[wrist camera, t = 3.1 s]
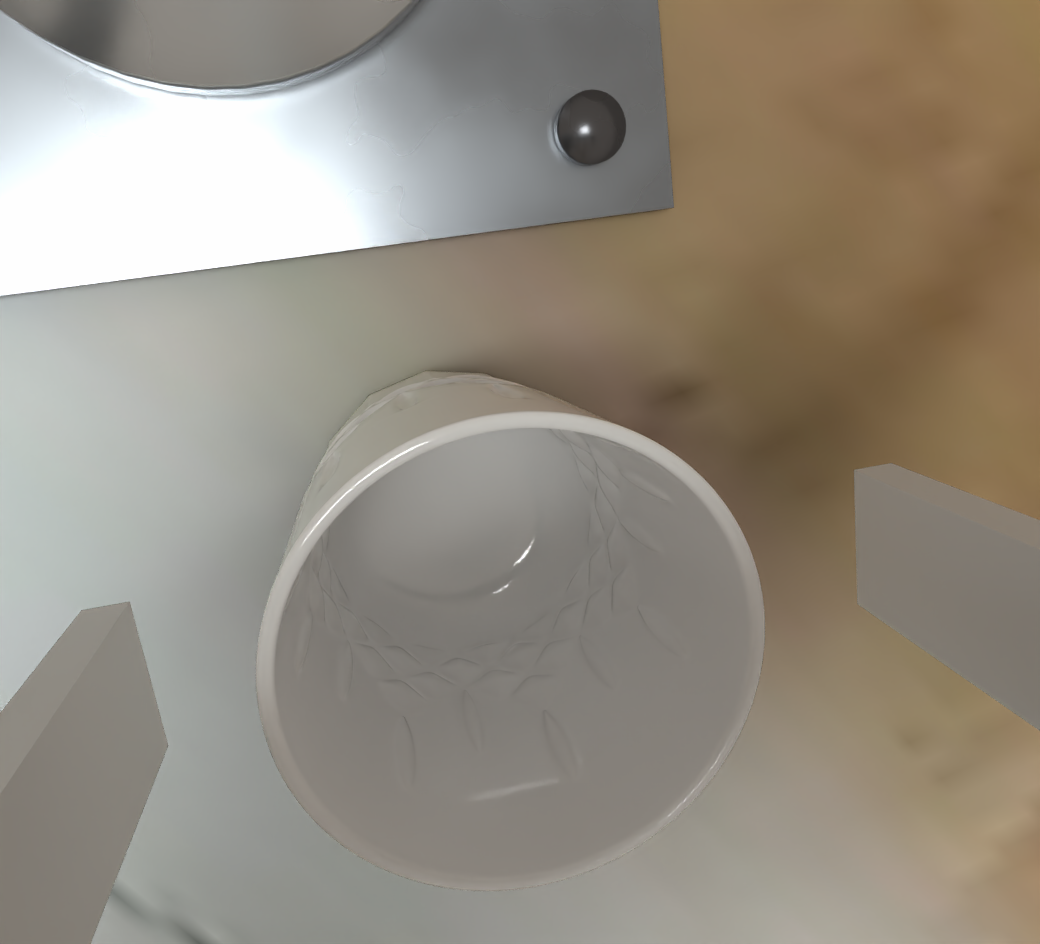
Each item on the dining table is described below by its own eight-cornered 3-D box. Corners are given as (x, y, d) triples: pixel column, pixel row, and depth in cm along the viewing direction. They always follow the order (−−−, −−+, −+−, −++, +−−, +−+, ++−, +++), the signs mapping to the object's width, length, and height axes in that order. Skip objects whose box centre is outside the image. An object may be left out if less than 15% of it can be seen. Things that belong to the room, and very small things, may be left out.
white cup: (260, 377, 21) (192, 474, 11) (571, 320, 22) (744, 365, 13) (330, 665, 23) (322, 951, 13) (610, 600, 24) (784, 819, 15)
